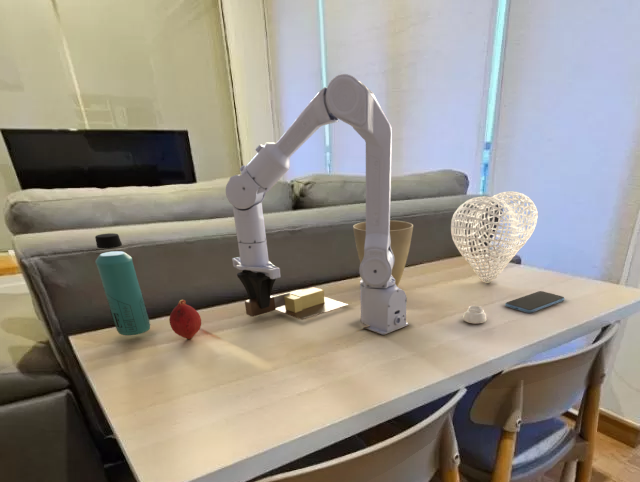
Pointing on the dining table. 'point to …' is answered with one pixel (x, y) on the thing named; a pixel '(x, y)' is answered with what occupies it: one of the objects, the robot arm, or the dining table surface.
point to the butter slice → (293, 303)
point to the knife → (275, 302)
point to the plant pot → (399, 244)
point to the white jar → (475, 315)
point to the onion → (185, 320)
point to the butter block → (310, 297)
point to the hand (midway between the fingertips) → (260, 305)
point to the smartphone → (534, 301)
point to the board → (313, 308)
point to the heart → (477, 216)
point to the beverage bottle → (121, 287)
